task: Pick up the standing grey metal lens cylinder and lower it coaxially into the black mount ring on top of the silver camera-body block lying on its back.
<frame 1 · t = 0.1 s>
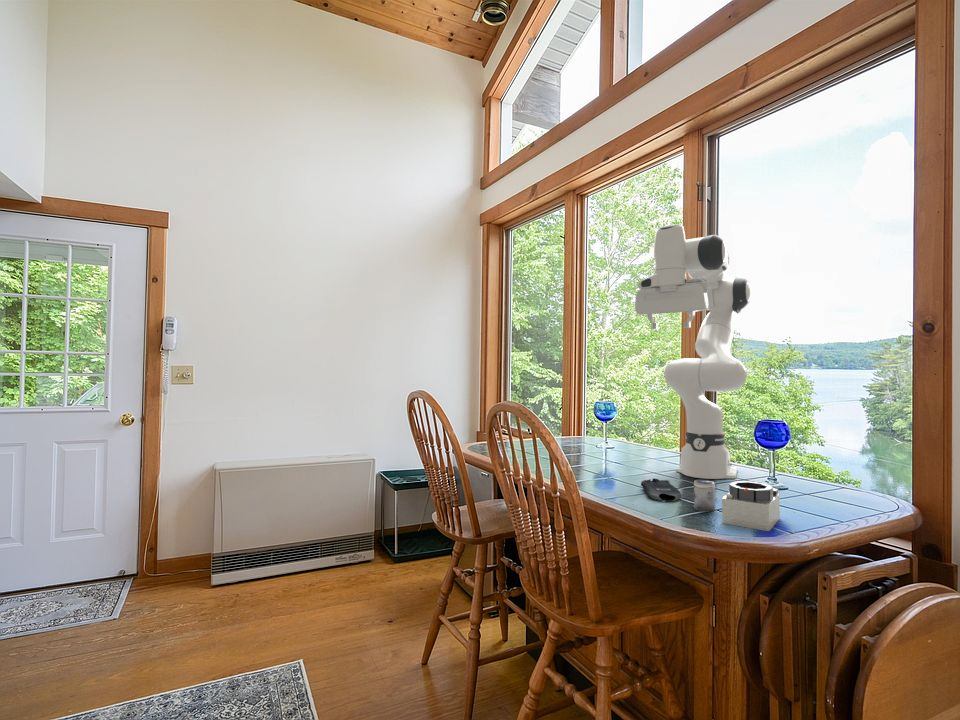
hand: (670, 328, 155), 48 cm above the table, fingers open, 8 cm apart
camera body: (751, 520, 129), on the table
lens: (704, 508, 140), on the table
electronic device: (661, 497, 154), on the table
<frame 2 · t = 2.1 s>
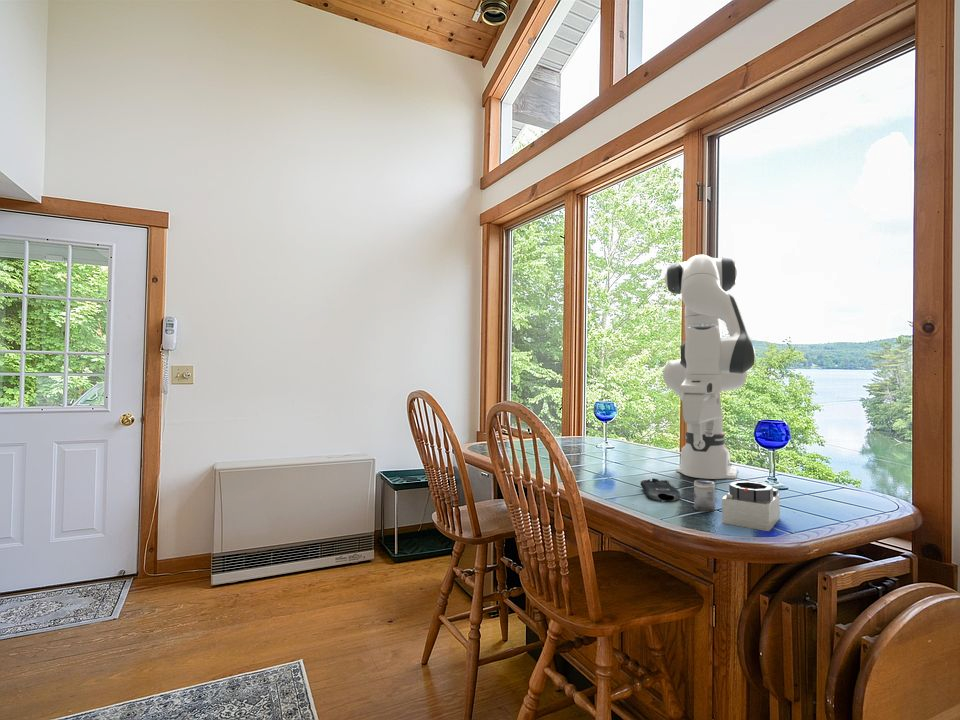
hand: (703, 438, 139), 18 cm above the table, fingers open, 8 cm apart
nothing on the table moved.
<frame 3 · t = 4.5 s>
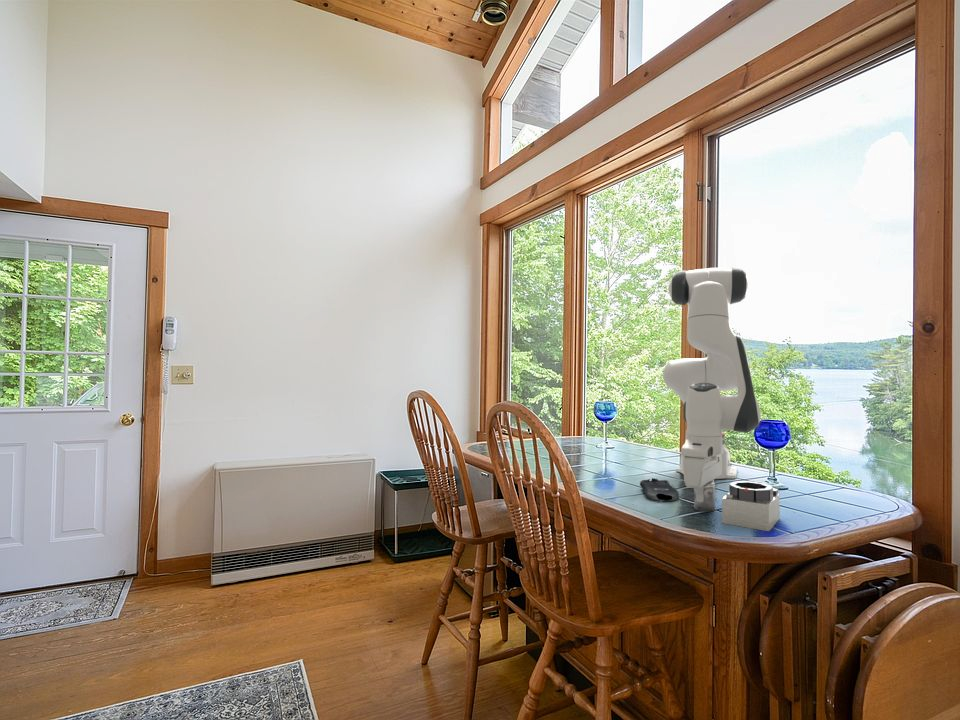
hand: (704, 498, 140), 3 cm above the table, fingers closed on lens, 5 cm apart
lens: (704, 508, 140), on the table, touching gripper
everything else where it was.
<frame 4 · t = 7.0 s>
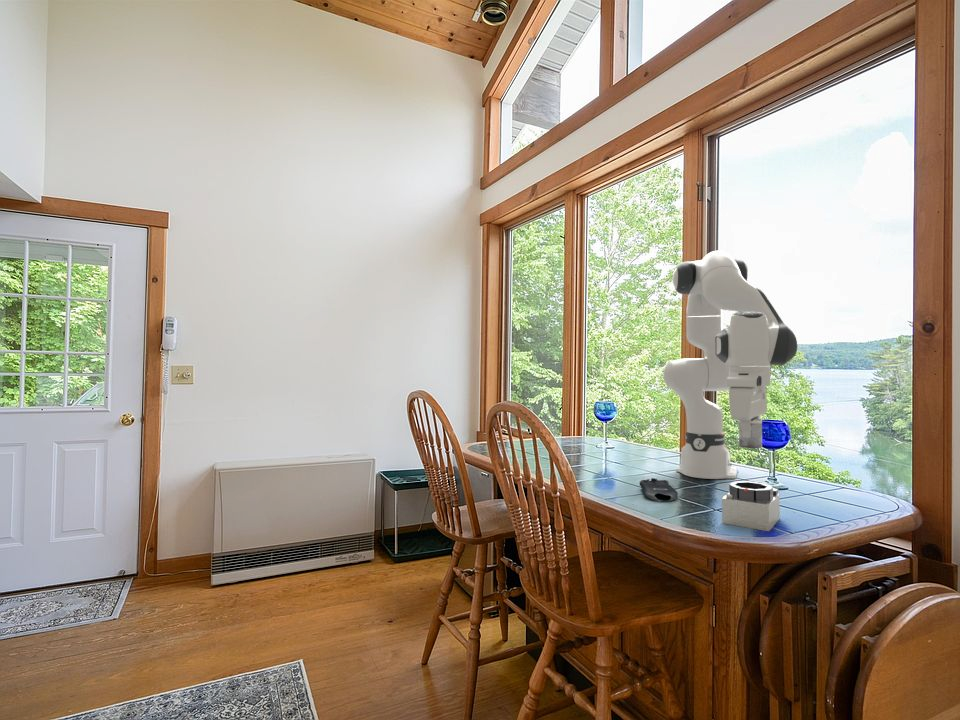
hand: (750, 435, 129), 21 cm above the table, fingers closed on lens, 5 cm apart
lens: (750, 446, 129), point 18 cm above the table, touching gripper
everything else where it was.
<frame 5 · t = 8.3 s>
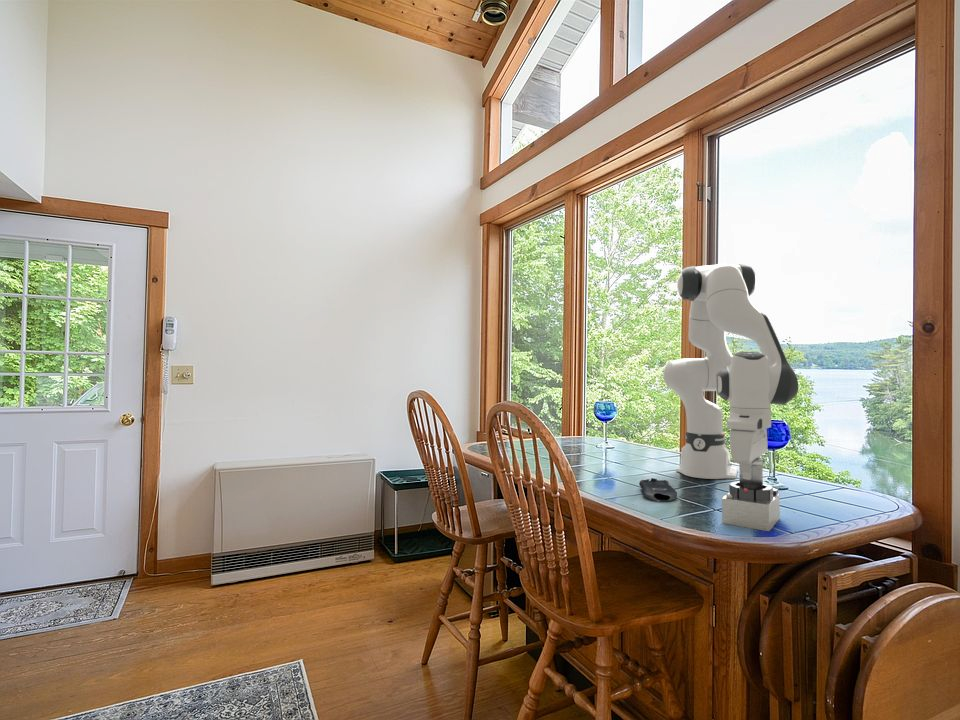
hand: (750, 476, 129), 11 cm above the table, fingers closed on lens, 5 cm apart
lens: (751, 487, 129), point 8 cm above the table, touching gripper
everything else where it was.
when the fingers open (10 cm above the table, at t = 9.6 s): lens stays where it is, resting on camera body.
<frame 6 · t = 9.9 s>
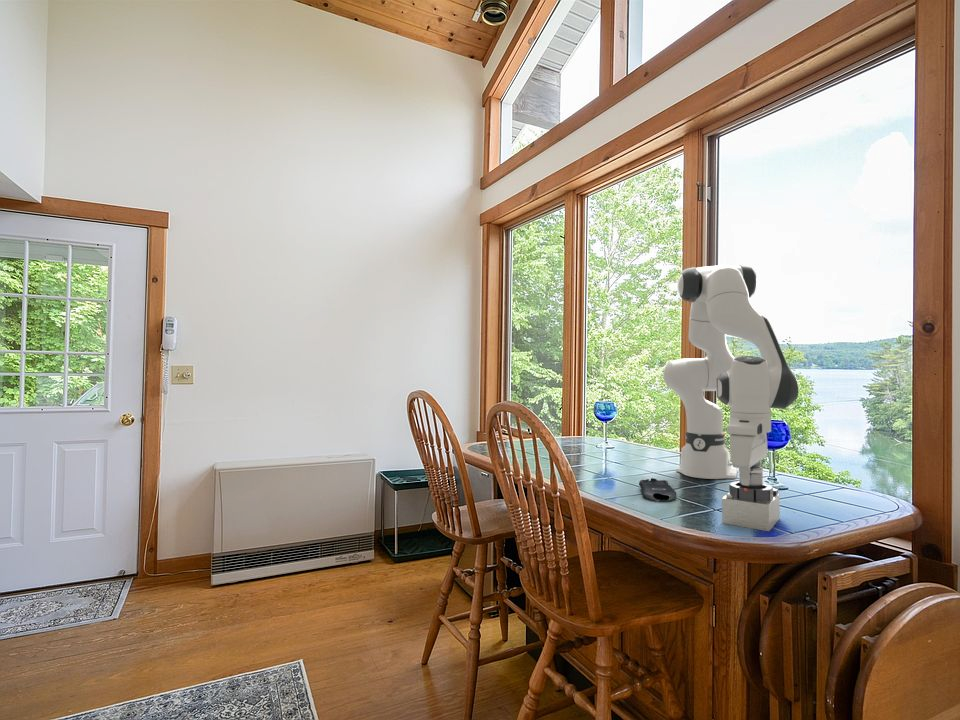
hand: (750, 481, 129), 10 cm above the table, fingers open, 8 cm apart
lens: (751, 495, 129), point 6 cm above the table, touching camera body
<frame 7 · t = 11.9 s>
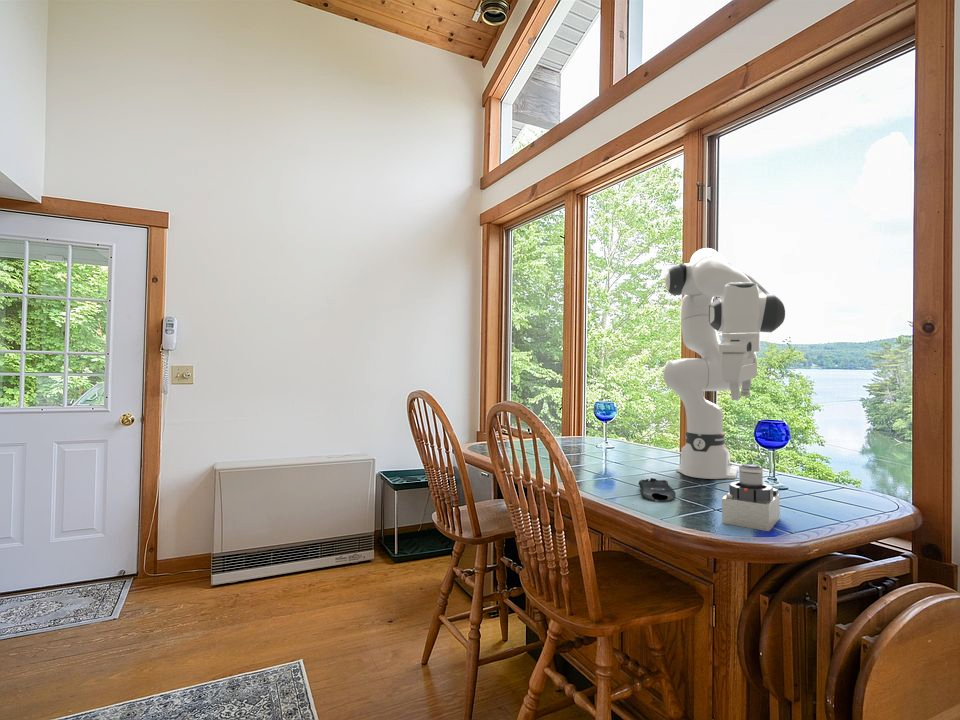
hand: (740, 398, 138), 29 cm above the table, fingers open, 8 cm apart
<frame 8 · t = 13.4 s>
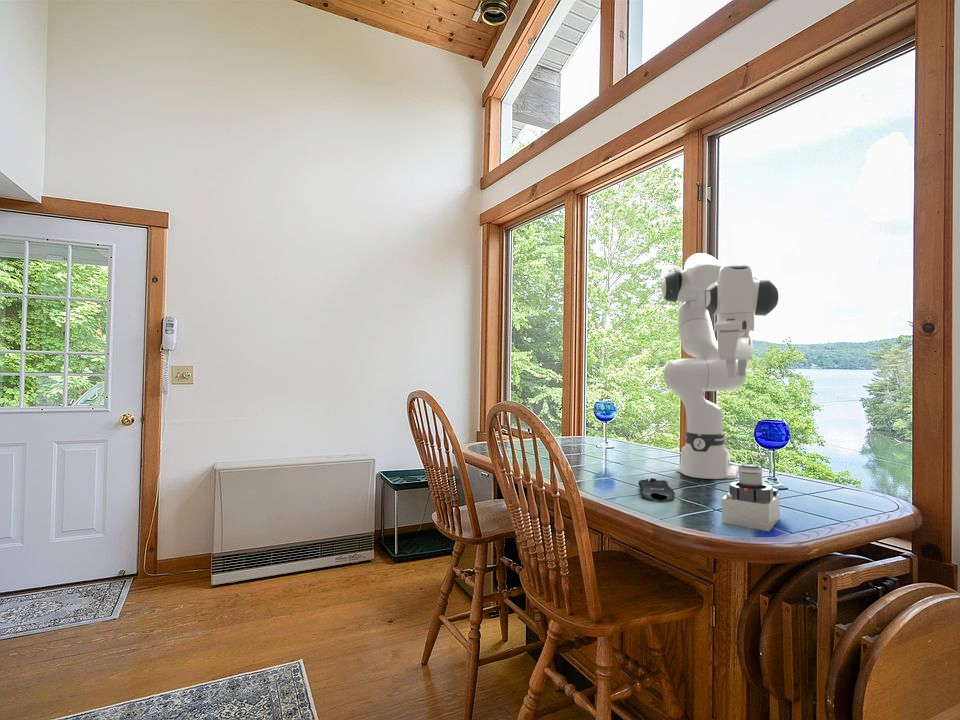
hand: (737, 377, 143), 34 cm above the table, fingers open, 8 cm apart
at the end: lens 0.1 cm off-centre on the camera body, point 6.1 cm above the camera body's base; lens tilted 1°; the gripper is holding nothing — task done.
